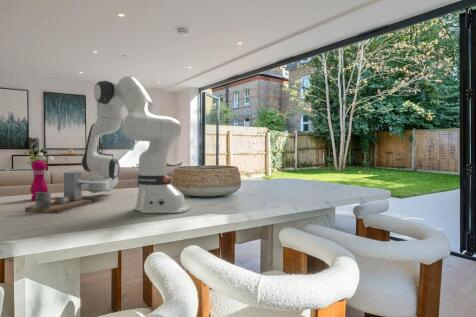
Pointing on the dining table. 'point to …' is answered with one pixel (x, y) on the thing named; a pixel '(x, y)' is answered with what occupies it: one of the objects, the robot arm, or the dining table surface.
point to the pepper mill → (38, 178)
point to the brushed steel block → (72, 186)
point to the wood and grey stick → (58, 199)
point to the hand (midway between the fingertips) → (78, 187)
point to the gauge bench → (53, 204)
